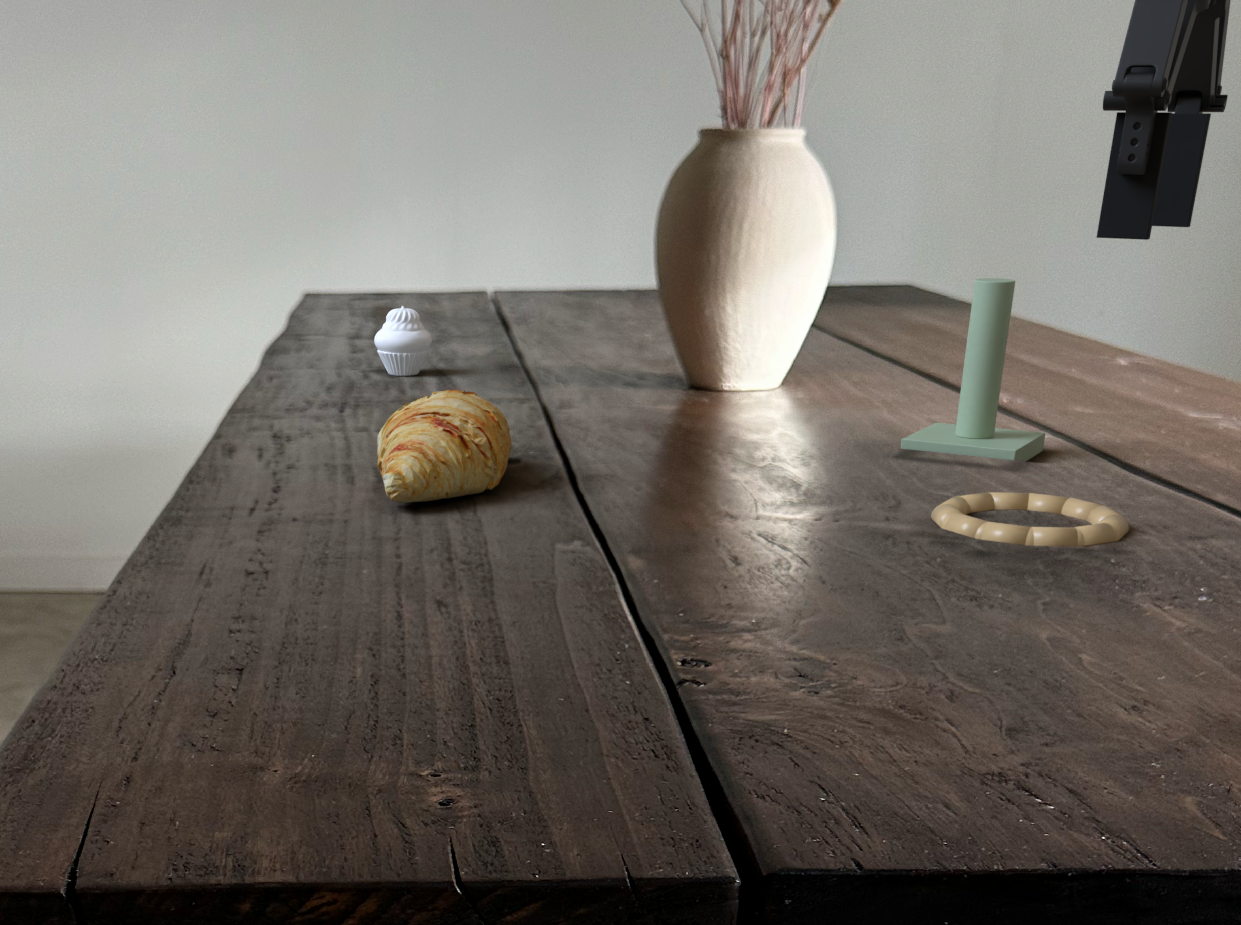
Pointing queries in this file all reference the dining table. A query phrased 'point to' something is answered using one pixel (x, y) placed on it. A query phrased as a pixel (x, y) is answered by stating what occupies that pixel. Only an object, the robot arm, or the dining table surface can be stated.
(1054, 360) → the dining table surface
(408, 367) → the muffin
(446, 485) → the croissant
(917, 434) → the post
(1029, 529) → the ring
